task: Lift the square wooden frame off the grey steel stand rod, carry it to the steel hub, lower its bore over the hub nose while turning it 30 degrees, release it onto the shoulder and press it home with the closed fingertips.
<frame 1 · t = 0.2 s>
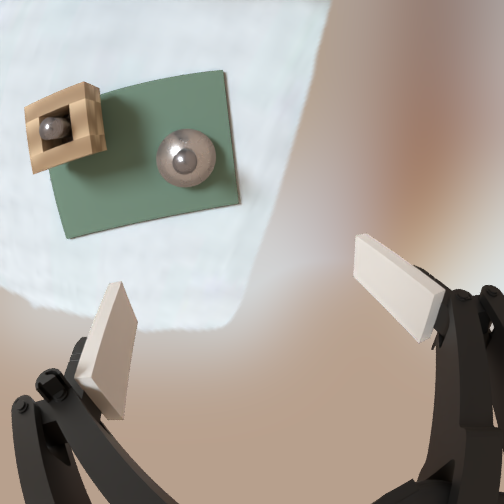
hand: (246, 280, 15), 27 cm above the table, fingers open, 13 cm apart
stand: (79, 128, 30), resting on mat
hub: (186, 157, 36), resting on mat
square wooden frame: (73, 128, 29), point 2 cm above the table, touching stand
mat: (132, 154, 34), on the table
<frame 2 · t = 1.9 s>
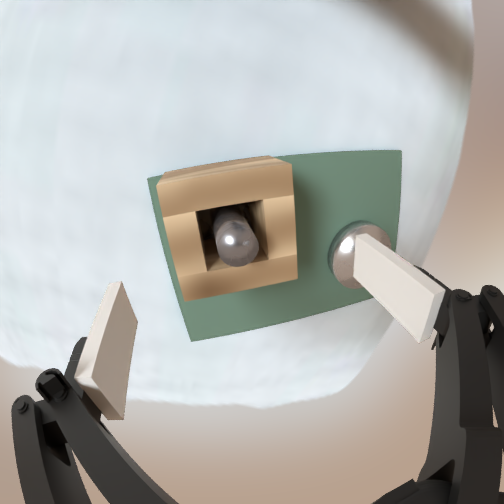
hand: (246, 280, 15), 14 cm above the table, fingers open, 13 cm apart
stand: (221, 206, 26), resting on mat
hub: (356, 251, 32), resting on mat
square wooden frame: (224, 212, 25), point 2 cm above the table, touching stand
mat: (297, 246, 30), on the table
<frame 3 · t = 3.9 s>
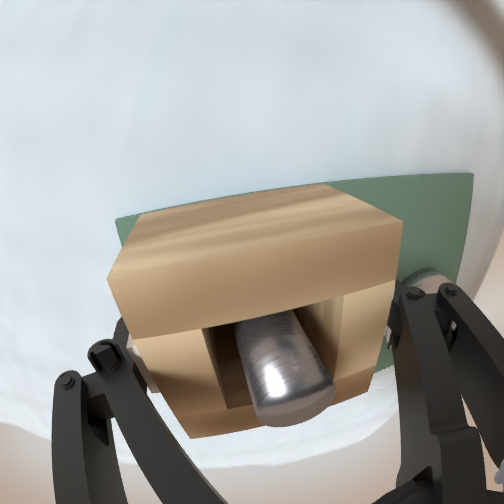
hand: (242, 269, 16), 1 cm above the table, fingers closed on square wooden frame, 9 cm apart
stand: (240, 263, 16), resting on mat
hub: (412, 306, 22), resting on mat
square wooden frame: (246, 280, 15), point 2 cm above the table, touching gripper, stand
mat: (344, 309, 20), on the table
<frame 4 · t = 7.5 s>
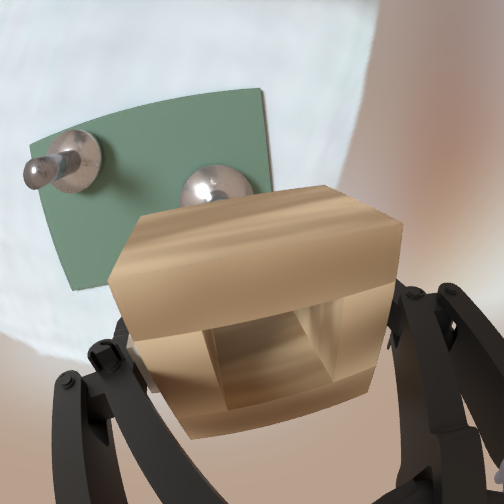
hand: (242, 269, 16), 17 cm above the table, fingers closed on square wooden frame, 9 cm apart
stand: (77, 159, 25), resting on mat
hub: (215, 198, 31), resting on mat
square wooden frame: (247, 281, 15), point 19 cm above the table, touching gripper
mat: (147, 193, 29), on the table
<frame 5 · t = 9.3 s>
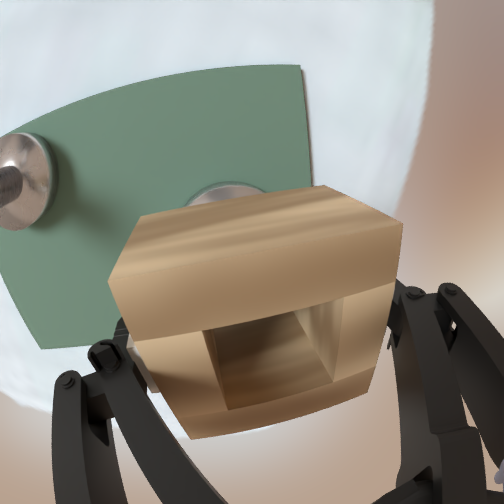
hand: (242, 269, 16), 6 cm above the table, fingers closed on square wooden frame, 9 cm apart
stand: (23, 177, 15), resting on mat
hub: (229, 235, 20), resting on mat
square wooden frame: (247, 281, 15), point 7 cm above the table, touching gripper
mat: (125, 227, 19), on the table
when the fingers open (2 cm above the table, at t = 11.0 s): square wooden frame drops 1 cm, resting on hub.
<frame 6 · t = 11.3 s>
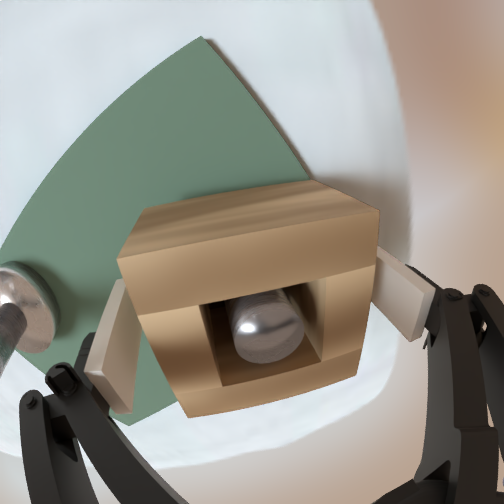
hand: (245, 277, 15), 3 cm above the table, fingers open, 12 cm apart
stand: (24, 302, 15), resting on mat
hub: (236, 254, 18), resting on mat
square wooden frame: (241, 269, 16), point 2 cm above the table, touching hub
mat: (133, 298, 18), on the table
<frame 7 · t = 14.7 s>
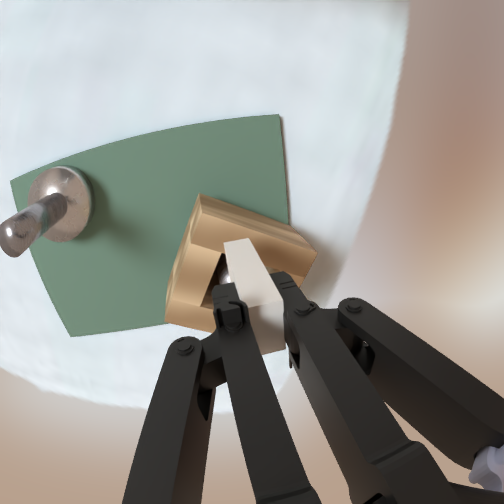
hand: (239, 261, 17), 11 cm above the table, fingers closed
stand: (64, 200, 22), resting on mat
hub: (226, 245, 27), resting on mat
square wooden frame: (228, 254, 26), point 2 cm above the table, touching hub
mat: (147, 240, 26), on the table
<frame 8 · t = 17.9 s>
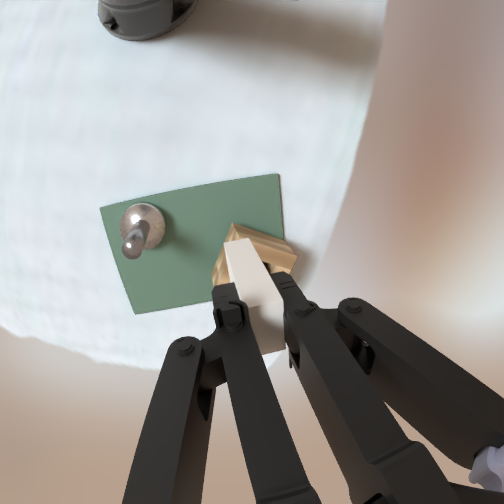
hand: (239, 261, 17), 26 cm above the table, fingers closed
stand: (143, 223, 40), resting on mat
square wooden frame: (247, 257, 44), point 2 cm above the table, touching hub
mat: (198, 248, 44), on the table
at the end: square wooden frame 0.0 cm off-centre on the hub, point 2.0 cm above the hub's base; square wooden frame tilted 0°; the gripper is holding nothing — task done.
